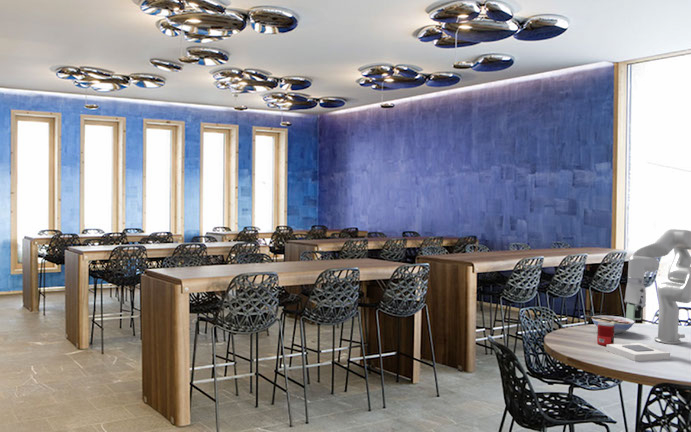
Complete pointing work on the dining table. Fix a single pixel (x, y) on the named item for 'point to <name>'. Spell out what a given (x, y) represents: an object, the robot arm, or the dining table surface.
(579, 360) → the dining table surface
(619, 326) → the ramen bowl
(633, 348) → the base board
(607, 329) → the canned food
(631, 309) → the green block
